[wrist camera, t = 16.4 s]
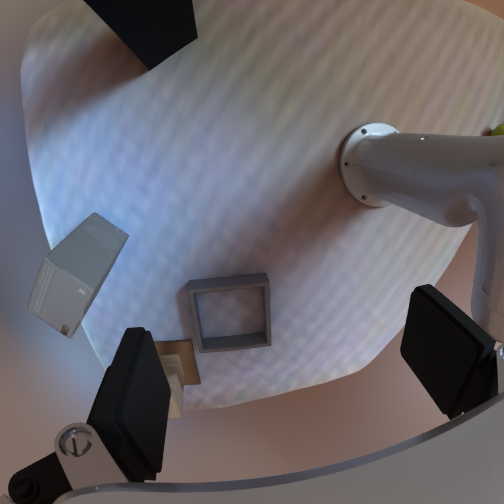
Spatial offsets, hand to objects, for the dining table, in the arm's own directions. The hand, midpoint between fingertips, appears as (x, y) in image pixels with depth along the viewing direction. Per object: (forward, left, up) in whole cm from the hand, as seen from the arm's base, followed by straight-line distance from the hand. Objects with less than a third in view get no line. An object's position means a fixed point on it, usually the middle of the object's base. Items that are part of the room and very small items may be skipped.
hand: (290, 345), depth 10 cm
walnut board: (+14, +28, -32) cm, 44 cm away
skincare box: (+20, +6, -32) cm, 38 cm away
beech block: (+14, +28, -31) cm, 44 cm away
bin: (+2, +18, -32) cm, 36 cm away
